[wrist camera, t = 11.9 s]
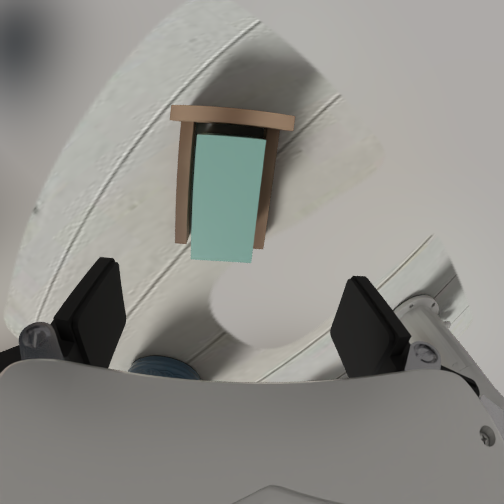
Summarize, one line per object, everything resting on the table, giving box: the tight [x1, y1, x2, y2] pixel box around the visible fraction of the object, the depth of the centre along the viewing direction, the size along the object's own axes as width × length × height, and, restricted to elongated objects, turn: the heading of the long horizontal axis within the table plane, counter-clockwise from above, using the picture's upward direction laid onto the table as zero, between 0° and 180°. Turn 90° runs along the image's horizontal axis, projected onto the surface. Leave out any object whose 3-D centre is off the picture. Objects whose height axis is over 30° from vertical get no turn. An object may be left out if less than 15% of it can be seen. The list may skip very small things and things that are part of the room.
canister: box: [128, 356, 201, 380], centre depth 34 cm, size 13×13×18 cm
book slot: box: [170, 105, 295, 249], centre depth 25 cm, size 9×14×8 cm
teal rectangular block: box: [191, 133, 266, 263], centre depth 25 cm, size 5×10×9 cm, turn 174°
